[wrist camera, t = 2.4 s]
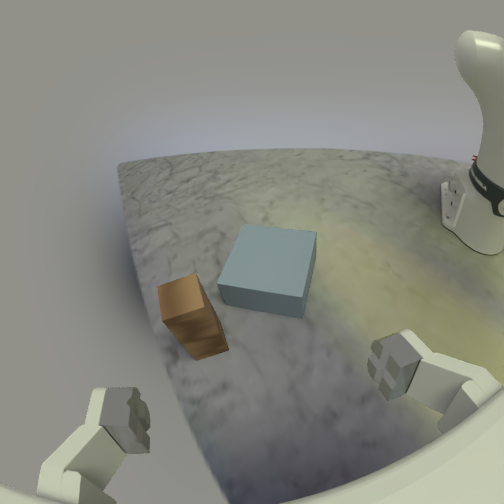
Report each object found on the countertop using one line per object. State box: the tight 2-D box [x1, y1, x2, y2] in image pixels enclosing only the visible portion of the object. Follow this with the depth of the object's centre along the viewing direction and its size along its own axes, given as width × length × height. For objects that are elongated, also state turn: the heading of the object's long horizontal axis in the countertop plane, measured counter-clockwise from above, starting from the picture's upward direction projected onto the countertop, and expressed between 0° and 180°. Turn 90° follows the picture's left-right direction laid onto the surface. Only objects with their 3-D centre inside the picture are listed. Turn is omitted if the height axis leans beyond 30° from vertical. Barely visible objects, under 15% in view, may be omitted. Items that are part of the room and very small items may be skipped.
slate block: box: [217, 225, 316, 318], centre depth 44 cm, size 12×12×6 cm
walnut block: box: [157, 273, 229, 361], centre depth 36 cm, size 5×5×12 cm
